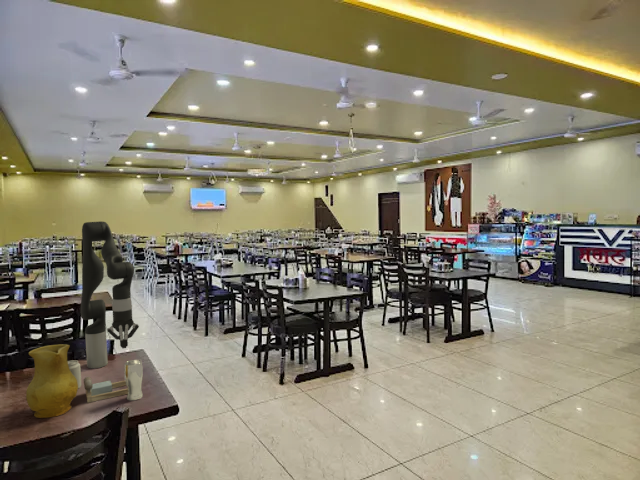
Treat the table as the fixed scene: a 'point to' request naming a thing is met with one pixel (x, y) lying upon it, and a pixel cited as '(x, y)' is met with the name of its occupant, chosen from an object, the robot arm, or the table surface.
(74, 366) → the can
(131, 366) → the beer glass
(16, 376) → the table surface
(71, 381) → the pitcher
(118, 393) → the bay
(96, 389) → the pale teal block
